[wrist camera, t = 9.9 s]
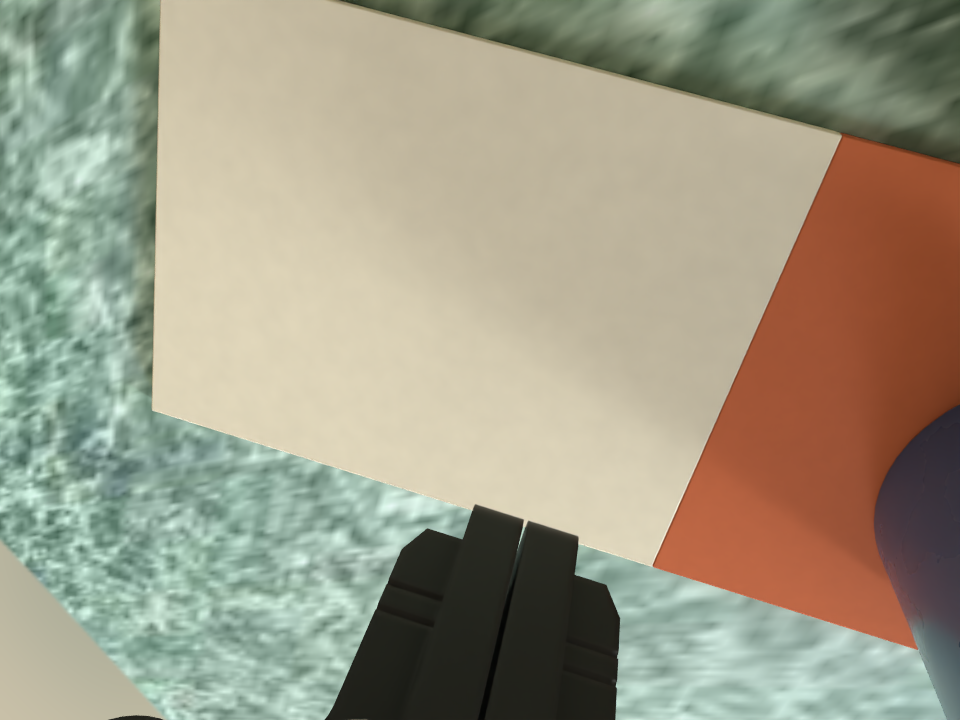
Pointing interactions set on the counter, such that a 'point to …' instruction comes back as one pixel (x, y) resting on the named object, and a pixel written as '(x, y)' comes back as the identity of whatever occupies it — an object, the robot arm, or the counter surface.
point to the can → (927, 548)
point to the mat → (552, 292)
